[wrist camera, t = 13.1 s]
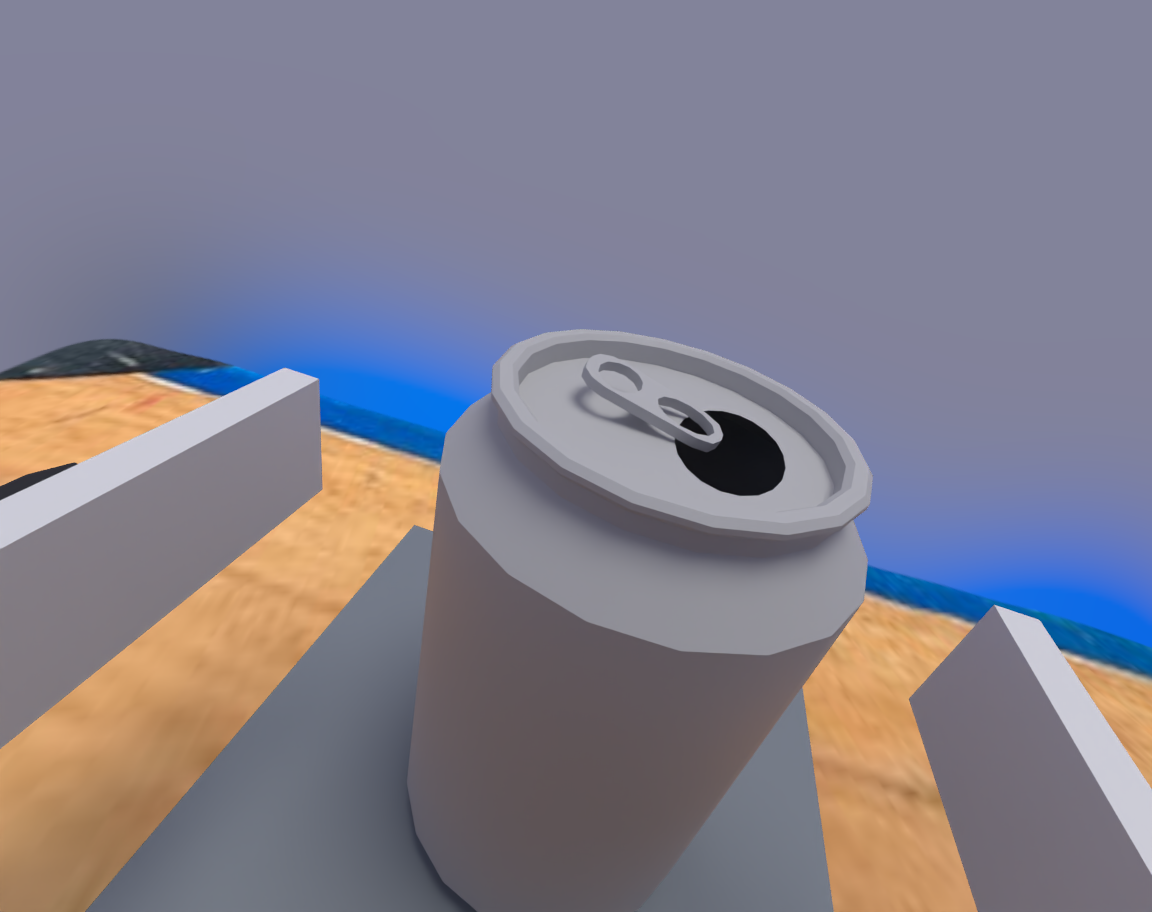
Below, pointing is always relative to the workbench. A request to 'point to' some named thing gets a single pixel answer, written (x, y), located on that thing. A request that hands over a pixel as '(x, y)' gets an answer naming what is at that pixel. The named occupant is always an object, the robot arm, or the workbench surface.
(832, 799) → the workbench surface
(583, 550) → the can
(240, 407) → the robot arm
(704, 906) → the slate board
